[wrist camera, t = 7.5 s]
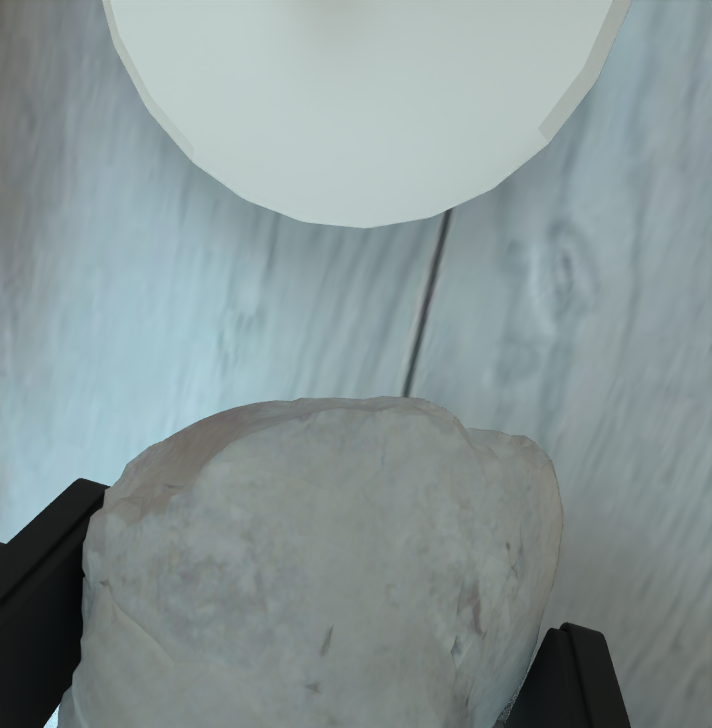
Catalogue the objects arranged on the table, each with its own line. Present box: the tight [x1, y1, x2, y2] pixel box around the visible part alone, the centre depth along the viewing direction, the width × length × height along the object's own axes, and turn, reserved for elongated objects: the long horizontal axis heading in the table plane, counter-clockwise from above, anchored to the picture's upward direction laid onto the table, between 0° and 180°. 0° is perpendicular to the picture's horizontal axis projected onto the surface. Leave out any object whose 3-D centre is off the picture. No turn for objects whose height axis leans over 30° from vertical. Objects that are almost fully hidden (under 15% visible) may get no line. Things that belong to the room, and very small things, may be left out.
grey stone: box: [57, 396, 563, 728], centre depth 9 cm, size 9×8×5 cm
